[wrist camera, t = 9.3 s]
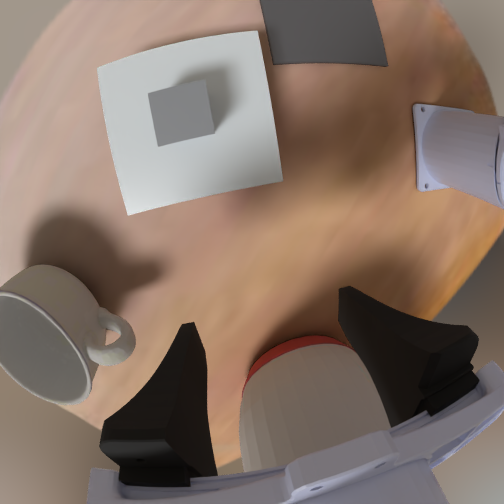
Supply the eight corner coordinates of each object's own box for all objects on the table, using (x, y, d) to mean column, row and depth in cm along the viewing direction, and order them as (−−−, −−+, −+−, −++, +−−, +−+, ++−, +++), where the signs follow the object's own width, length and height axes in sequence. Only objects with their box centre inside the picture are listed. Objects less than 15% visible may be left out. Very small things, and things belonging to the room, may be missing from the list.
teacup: (36, 336, 22) (7, 388, 15) (11, 244, 18) (-40, 287, 11) (152, 354, 25) (143, 421, 18) (145, 253, 21) (119, 315, 14)
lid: (255, 33, 12) (270, 6, 8) (280, 179, 16) (302, 194, 12) (100, 69, 11) (70, 54, 8) (130, 212, 15) (108, 237, 12)
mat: (360, -24, 13) (362, -26, 13) (385, 66, 17) (388, 66, 17) (251, -34, 12) (252, -36, 12) (273, 64, 16) (274, 63, 16)
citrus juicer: (234, 424, 32) (258, 559, 14) (220, 327, 25) (255, 561, 7) (345, 403, 34) (398, 518, 16) (375, 305, 27) (489, 458, 9)
